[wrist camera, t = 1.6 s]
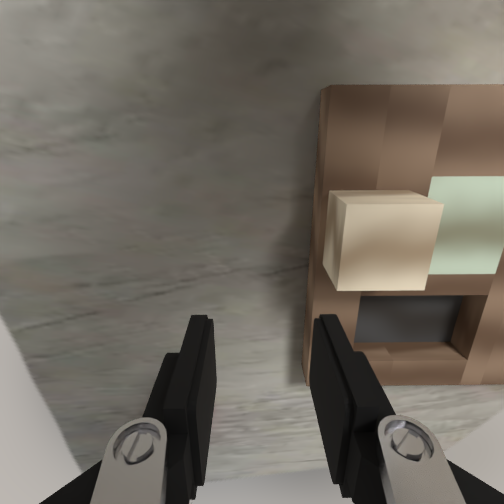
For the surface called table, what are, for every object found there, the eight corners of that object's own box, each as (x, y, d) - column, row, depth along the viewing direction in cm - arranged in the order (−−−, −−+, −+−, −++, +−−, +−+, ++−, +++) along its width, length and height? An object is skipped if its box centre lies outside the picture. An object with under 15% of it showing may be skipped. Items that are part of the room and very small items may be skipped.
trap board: (321, 89, 23) (331, 84, 21) (637, 89, 24) (689, 84, 21) (301, 364, 33) (306, 386, 30) (525, 362, 33) (551, 383, 30)
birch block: (329, 190, 23) (346, 204, 19) (409, 190, 23) (444, 204, 19) (322, 264, 25) (336, 290, 21) (395, 263, 25) (424, 290, 21)
